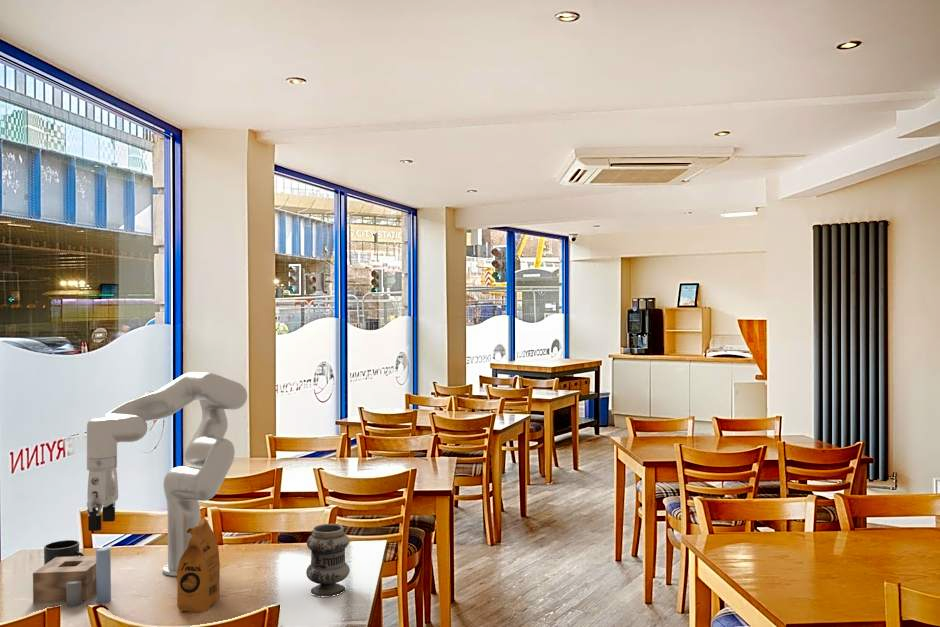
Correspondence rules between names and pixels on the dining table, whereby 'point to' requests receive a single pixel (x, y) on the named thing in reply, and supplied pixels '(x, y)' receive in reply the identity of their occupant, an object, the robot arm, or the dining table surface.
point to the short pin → (73, 593)
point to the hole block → (64, 578)
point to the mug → (61, 550)
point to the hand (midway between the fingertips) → (101, 525)
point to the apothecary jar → (327, 559)
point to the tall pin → (103, 575)
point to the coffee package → (199, 571)
